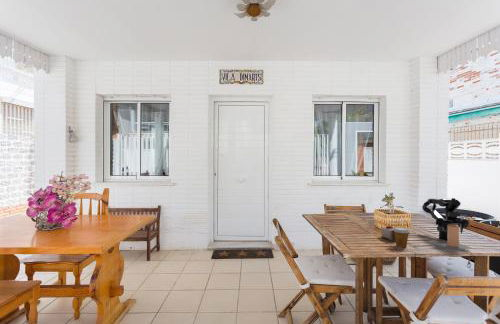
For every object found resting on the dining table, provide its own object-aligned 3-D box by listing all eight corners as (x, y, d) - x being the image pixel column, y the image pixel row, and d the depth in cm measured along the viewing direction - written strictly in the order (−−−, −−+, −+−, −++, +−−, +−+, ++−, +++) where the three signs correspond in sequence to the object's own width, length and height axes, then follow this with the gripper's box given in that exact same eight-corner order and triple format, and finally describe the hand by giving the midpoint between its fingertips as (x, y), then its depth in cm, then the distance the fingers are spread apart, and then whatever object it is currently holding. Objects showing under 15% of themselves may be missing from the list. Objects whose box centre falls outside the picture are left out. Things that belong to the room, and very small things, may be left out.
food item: (379, 236, 225) (379, 224, 225) (388, 236, 227) (388, 223, 227) (391, 241, 212) (391, 228, 211) (400, 241, 213) (401, 227, 213)
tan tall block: (447, 243, 204) (447, 224, 204) (456, 244, 202) (457, 224, 202) (448, 246, 199) (449, 225, 199) (458, 247, 197) (458, 226, 197)
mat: (440, 249, 192) (440, 249, 192) (423, 242, 209) (423, 241, 209) (472, 249, 194) (472, 248, 194) (452, 242, 211) (452, 241, 211)
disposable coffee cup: (412, 247, 198) (412, 229, 198) (401, 248, 195) (401, 230, 195) (401, 243, 207) (401, 226, 207) (390, 244, 204) (390, 227, 204)
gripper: (436, 206, 208) (438, 224, 198) (468, 208, 200) (472, 227, 190) (434, 215, 215) (436, 233, 205) (465, 217, 207) (469, 236, 197)
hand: (453, 232), depth 199 cm, fingers open, 9 cm apart
